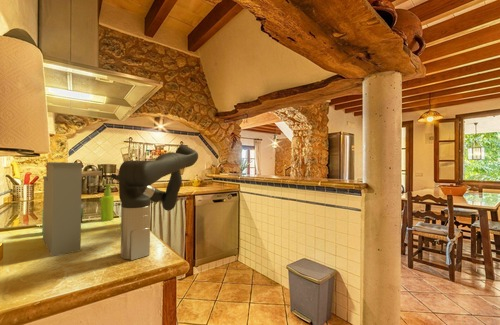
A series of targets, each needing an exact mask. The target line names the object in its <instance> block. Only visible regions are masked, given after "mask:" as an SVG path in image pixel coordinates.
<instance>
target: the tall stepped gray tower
mask: <svg viewBox="0 0 500 325" xmlns="http://www.w3.org/2000/svg"><path fill="white" fill-rule="evenodd" d="M55 162H56V161H55ZM55 162H53V161H49V162H48V161H46V166H47V165H48V177H46V176H43V177H42V179H43V201H42V202H43V204H42V205H43V208H42V219H43V234H42V240H43V241H44V244H45V246H46V248H47V250H48V252H49V254H50V256H51V257H52V258H53V257H56V256H57V257H58V256H60V255H65V254H70V253H74V252H79V251H81V247H82V246H81V245H82V242H81V240H82V236H81V235H82V234H81V233H82V222H81V202H82V187H83V185H82V183H83V181H82V180H83V179H82V178H83V176H82V171H83V164H84V163H83V162H67V163H55Z"/></svg>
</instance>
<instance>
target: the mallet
mask: <svg viewBox="0 0 500 325" xmlns="http://www.w3.org/2000/svg"><path fill="white" fill-rule="evenodd" d="M55 163H68V162H65V161H64V162H60V161H57V162H56V161H55ZM45 171H46V177H48V165H47V164H46V169H45ZM99 176H100V177H101V176H103V171H102V170H95V171H94V170H93V171H92V170H88V171H86V170H85V171H84V170H82V177H99Z"/></svg>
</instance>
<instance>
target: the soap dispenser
mask: <svg viewBox="0 0 500 325" xmlns="http://www.w3.org/2000/svg"><path fill="white" fill-rule="evenodd" d="M103 186H105V190H104V191H103V195H102V196H101V198H100V221H101V222H109V221H113V220H114V206H115V204H114V201H115V200H114V199H115V196H114V195H112V190H111V189H110V186H112V187H115V186H116V184H113V183H105V184H104V185H103Z"/></svg>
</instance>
